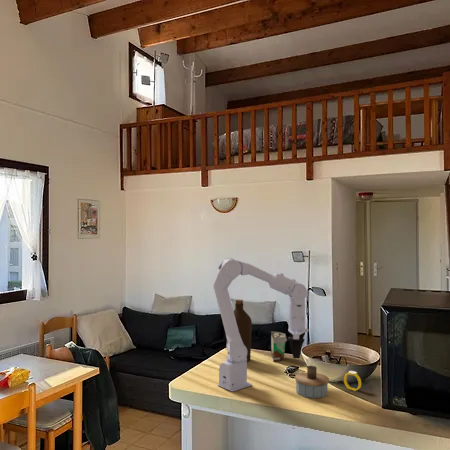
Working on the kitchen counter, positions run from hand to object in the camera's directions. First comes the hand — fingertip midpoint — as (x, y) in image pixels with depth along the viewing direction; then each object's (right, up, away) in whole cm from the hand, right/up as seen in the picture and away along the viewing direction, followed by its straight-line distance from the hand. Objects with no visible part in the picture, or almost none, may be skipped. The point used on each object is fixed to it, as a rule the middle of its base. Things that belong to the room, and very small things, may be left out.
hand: (296, 354), depth 152 cm
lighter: (+13, -10, +4) cm, 17 cm away
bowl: (+4, -10, -9) cm, 14 cm away
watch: (+18, -10, -6) cm, 21 cm away
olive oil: (-20, -10, +26) cm, 35 cm away
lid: (+4, -6, -9) cm, 11 cm away
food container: (-2, -11, +29) cm, 31 cm away
